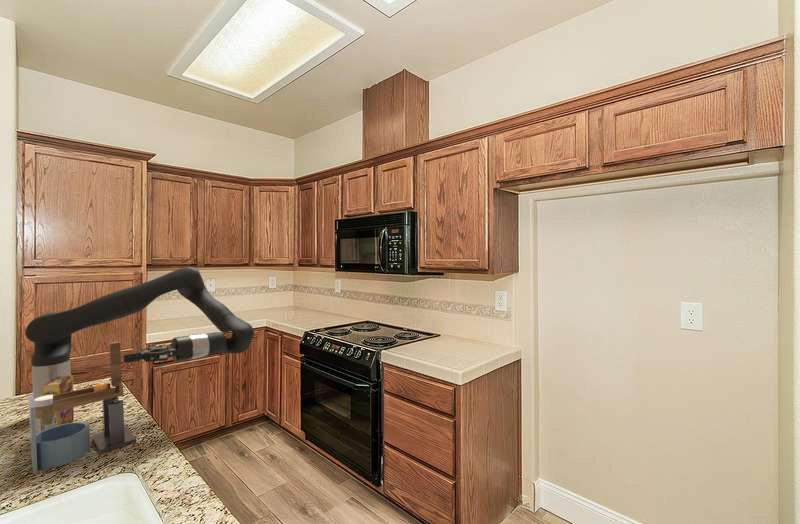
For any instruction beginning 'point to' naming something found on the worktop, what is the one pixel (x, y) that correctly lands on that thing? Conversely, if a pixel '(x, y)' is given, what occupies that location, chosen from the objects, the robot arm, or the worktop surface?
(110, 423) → the lever stand
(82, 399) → the lever
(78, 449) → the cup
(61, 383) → the candy box
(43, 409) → the sprinkles bottle
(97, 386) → the ball
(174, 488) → the worktop surface
